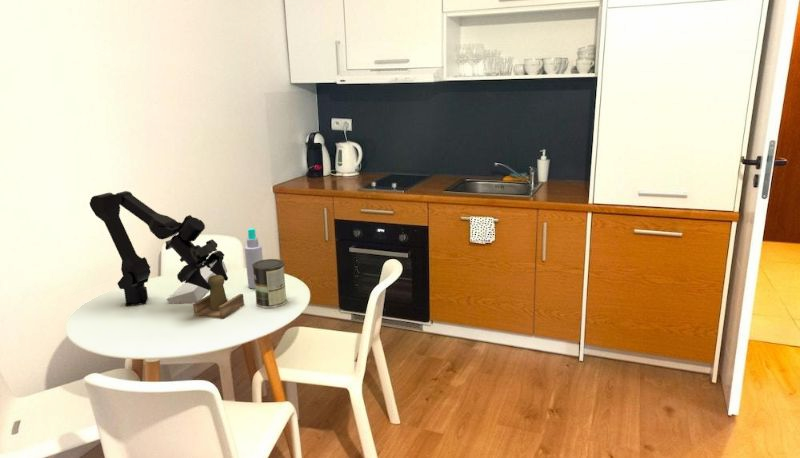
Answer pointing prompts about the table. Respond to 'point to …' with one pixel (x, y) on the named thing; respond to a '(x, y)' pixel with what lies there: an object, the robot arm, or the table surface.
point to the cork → (216, 292)
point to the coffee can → (269, 283)
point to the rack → (224, 310)
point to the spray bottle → (252, 255)
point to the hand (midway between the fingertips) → (219, 284)
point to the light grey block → (192, 289)
